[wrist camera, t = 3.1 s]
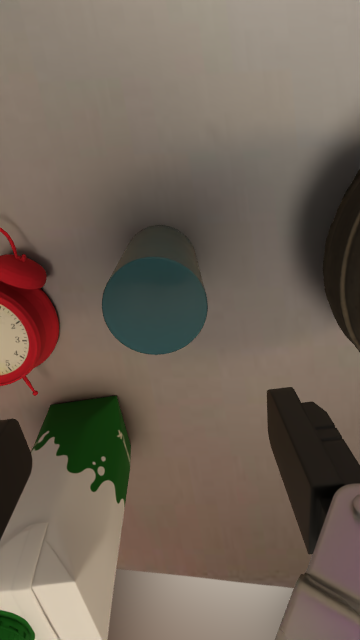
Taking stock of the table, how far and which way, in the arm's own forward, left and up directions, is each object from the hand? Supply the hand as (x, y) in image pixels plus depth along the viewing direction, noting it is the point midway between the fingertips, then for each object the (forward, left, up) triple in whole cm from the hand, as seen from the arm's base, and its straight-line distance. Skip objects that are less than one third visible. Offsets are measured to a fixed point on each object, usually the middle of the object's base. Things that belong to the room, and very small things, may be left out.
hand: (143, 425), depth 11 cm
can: (0, 0, -21) cm, 21 cm away
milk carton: (-10, -17, -21) cm, 29 cm away
